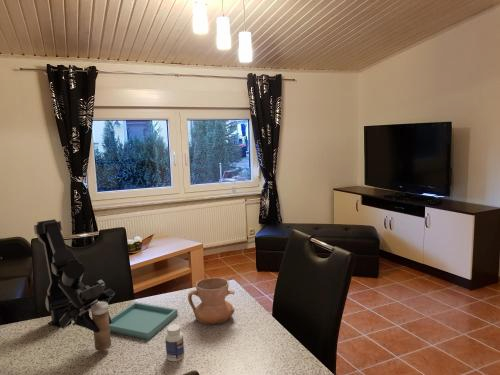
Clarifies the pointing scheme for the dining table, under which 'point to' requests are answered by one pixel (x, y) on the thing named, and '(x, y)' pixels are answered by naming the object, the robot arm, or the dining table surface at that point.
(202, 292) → the ceramic jug
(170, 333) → the pill bottle
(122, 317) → the tray
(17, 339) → the dining table surface
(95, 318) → the shaker
